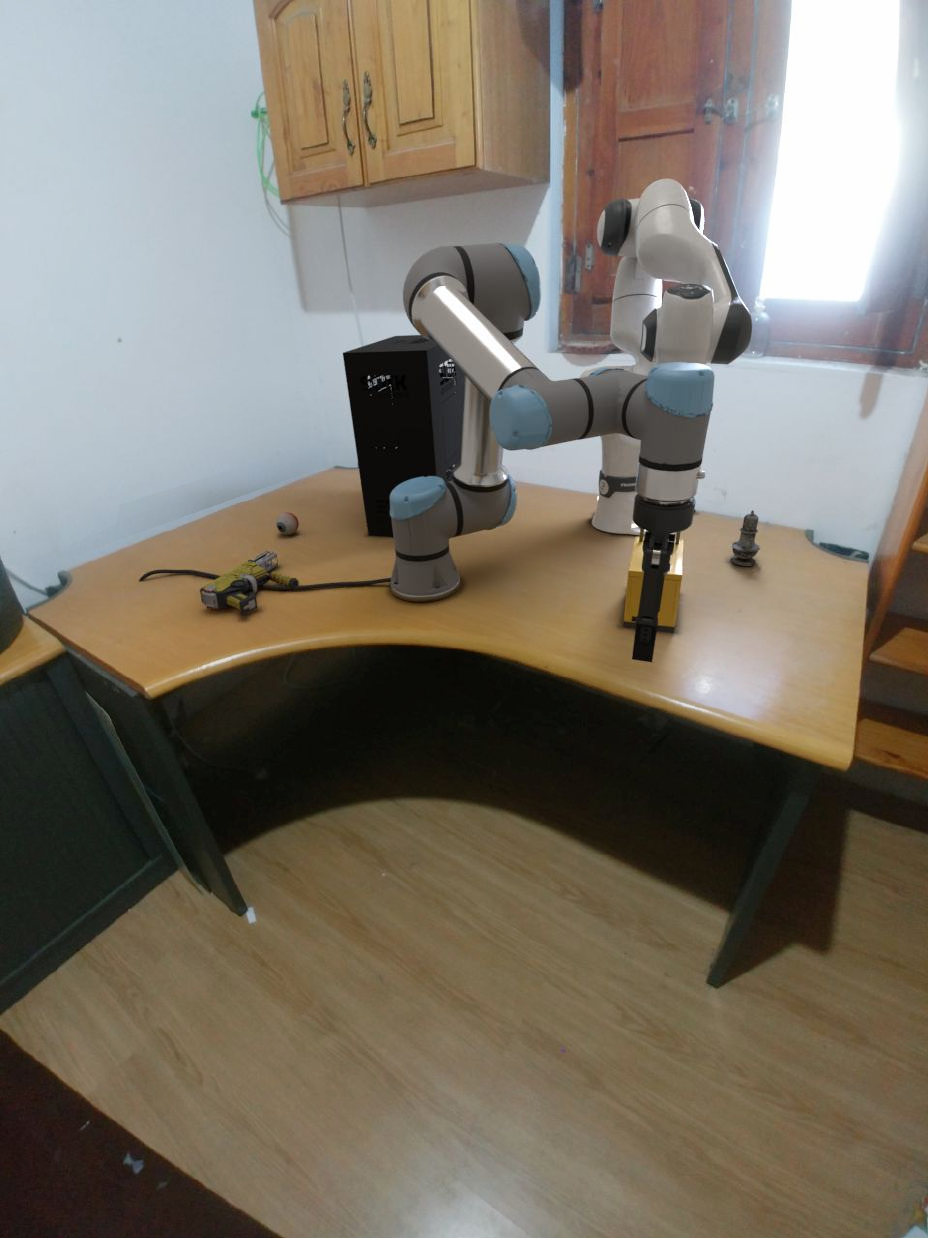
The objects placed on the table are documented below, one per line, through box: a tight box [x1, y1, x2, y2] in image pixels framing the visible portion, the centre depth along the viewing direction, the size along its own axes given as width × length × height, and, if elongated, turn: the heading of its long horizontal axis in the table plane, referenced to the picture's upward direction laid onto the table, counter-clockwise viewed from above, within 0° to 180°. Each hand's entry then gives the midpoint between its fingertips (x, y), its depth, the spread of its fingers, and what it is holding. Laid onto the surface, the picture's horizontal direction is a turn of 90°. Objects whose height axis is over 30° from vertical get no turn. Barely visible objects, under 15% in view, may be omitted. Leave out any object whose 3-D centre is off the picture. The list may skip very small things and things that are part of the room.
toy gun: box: [199, 550, 300, 616], centre depth 135 cm, size 5×24×15 cm
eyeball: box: [275, 511, 300, 536], centre depth 163 cm, size 6×6×6 cm
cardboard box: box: [342, 334, 464, 537], centre depth 164 cm, size 38×20×45 cm, turn 167°
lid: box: [627, 528, 685, 582], centre depth 112 cm, size 16×9×9 cm, turn 162°
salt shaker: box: [729, 509, 761, 567], centre depth 133 cm, size 6×6×12 cm
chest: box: [622, 575, 682, 633], centre depth 117 cm, size 15×9×11 cm, turn 162°
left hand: (646, 633), depth 88 cm, fingers open, 13 cm apart
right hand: (667, 469), depth 112 cm, fingers open, 8 cm apart
